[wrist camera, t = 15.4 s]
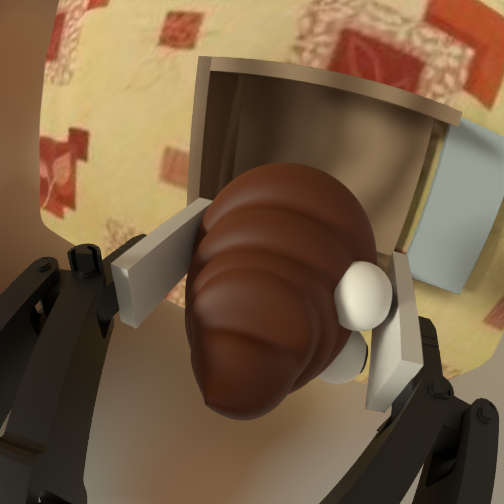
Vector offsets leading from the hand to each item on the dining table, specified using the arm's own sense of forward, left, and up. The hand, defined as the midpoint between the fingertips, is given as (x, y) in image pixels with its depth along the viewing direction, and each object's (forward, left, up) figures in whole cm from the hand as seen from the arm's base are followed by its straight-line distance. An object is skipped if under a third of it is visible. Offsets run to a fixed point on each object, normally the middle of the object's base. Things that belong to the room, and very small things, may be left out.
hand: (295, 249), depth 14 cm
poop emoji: (+1, 0, -1) cm, 1 cm away
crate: (0, -1, -19) cm, 19 cm away
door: (0, +11, -18) cm, 21 cm away
